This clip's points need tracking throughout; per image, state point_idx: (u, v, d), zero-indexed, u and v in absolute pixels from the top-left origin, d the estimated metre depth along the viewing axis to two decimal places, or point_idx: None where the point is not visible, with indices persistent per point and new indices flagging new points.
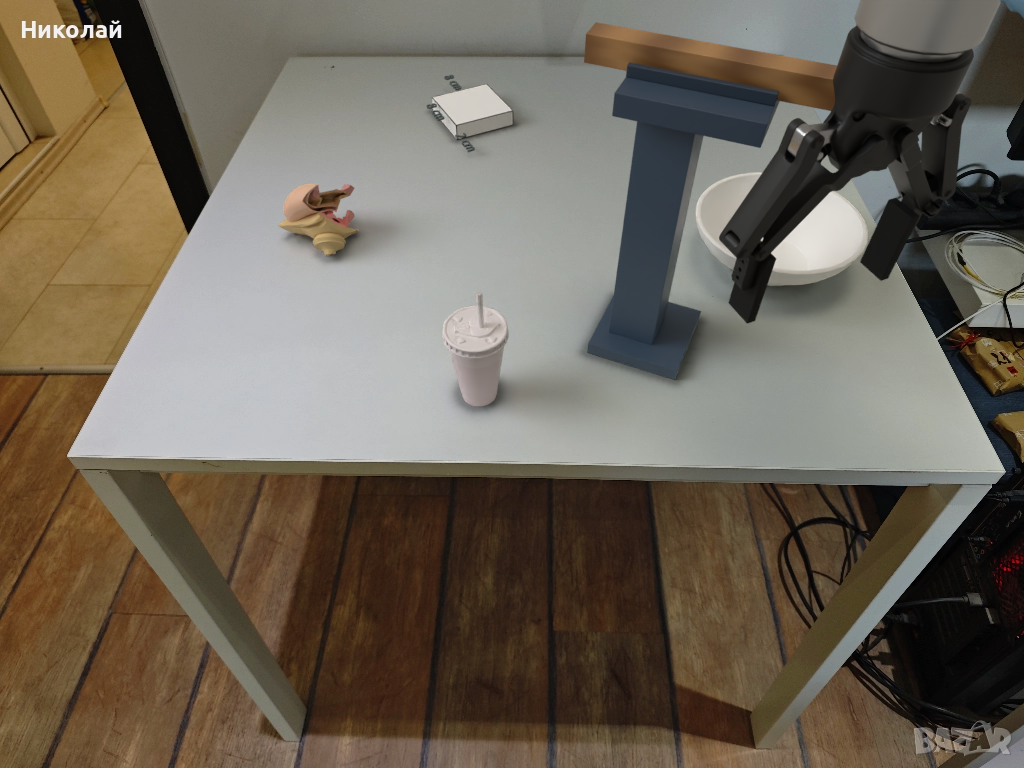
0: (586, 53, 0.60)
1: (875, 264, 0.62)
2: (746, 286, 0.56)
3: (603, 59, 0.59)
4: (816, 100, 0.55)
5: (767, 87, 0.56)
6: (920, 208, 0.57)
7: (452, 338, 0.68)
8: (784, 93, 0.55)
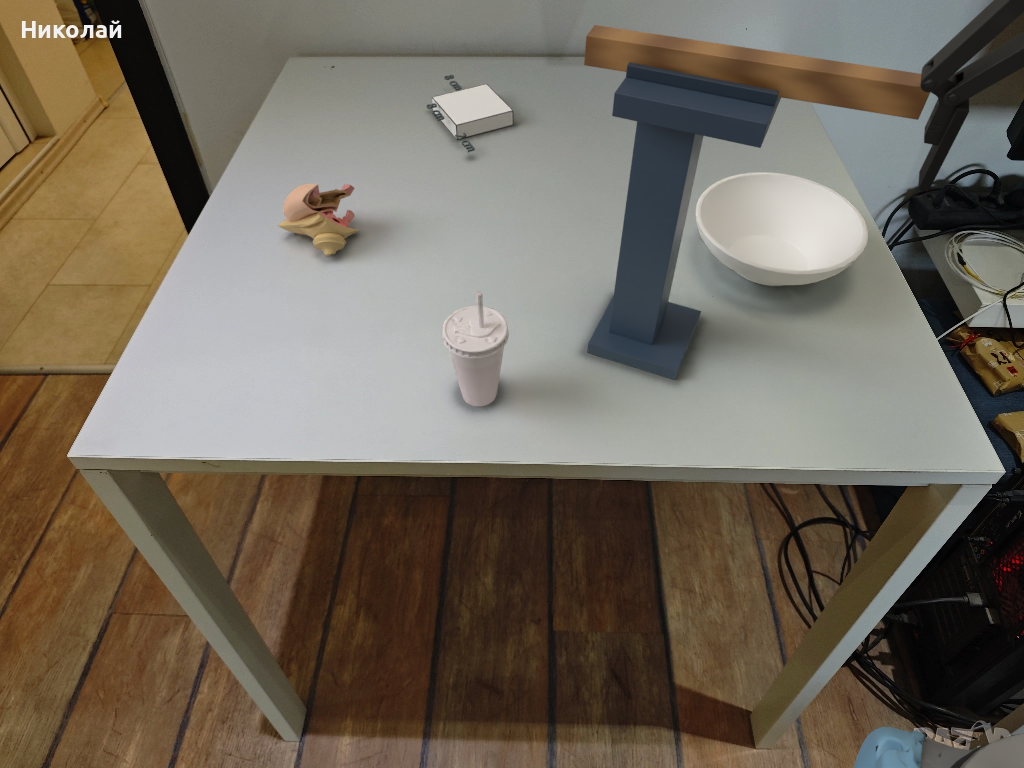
0: (586, 55, 0.59)
1: None
2: (930, 139, 0.53)
3: (604, 61, 0.59)
4: (820, 96, 0.55)
5: (771, 84, 0.56)
6: None
7: (452, 338, 0.68)
8: (788, 90, 0.55)
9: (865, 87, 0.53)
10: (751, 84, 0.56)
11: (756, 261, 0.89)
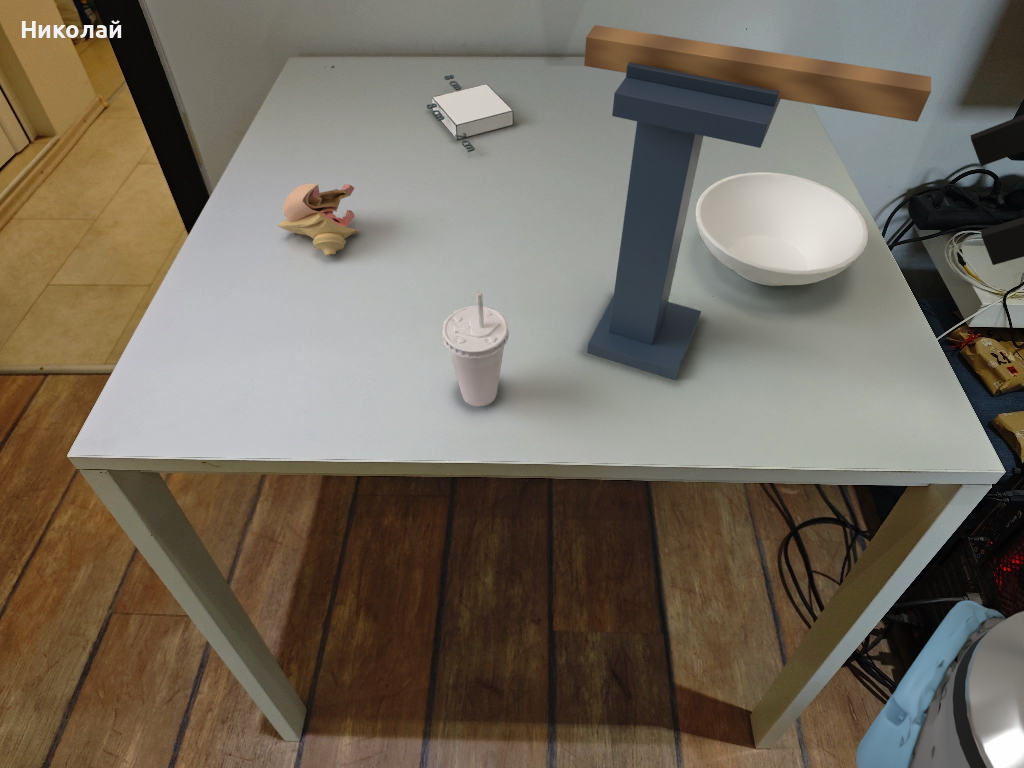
0: (586, 56, 0.59)
1: None
2: None
3: (604, 62, 0.59)
4: (820, 97, 0.55)
5: (770, 86, 0.56)
6: None
7: (452, 338, 0.68)
8: (788, 91, 0.56)
9: (864, 89, 0.53)
10: (750, 85, 0.56)
11: (756, 261, 0.89)
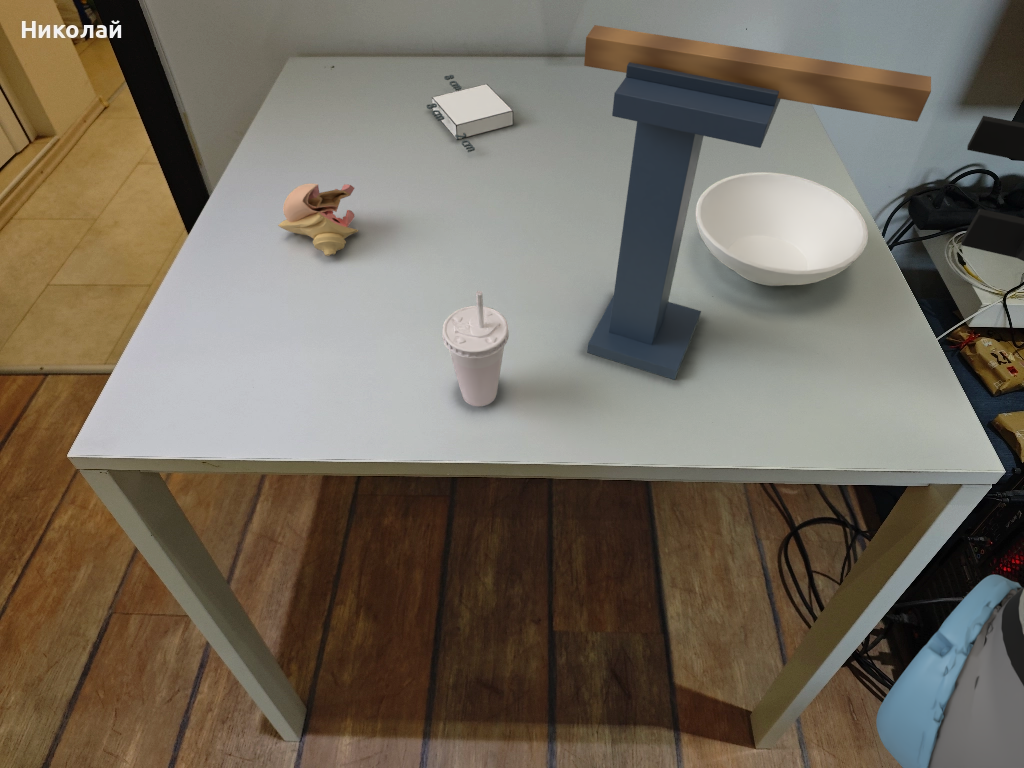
0: (586, 56, 0.59)
1: None
2: None
3: (604, 62, 0.59)
4: (820, 97, 0.55)
5: (770, 86, 0.56)
6: None
7: (452, 338, 0.68)
8: (788, 91, 0.56)
9: (864, 89, 0.53)
10: (750, 85, 0.56)
11: (756, 261, 0.89)
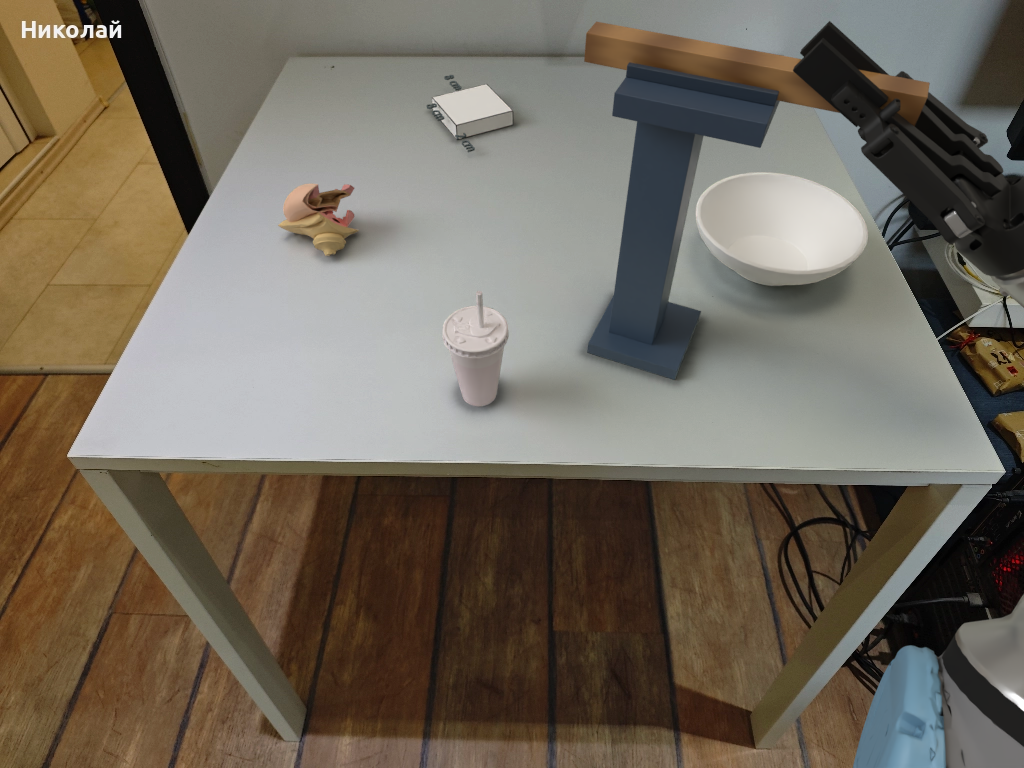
0: (586, 52, 0.60)
1: None
2: None
3: (603, 58, 0.59)
4: (816, 100, 0.55)
5: (767, 87, 0.56)
6: None
7: (452, 338, 0.68)
8: (784, 93, 0.55)
9: None
10: None
11: (756, 261, 0.89)
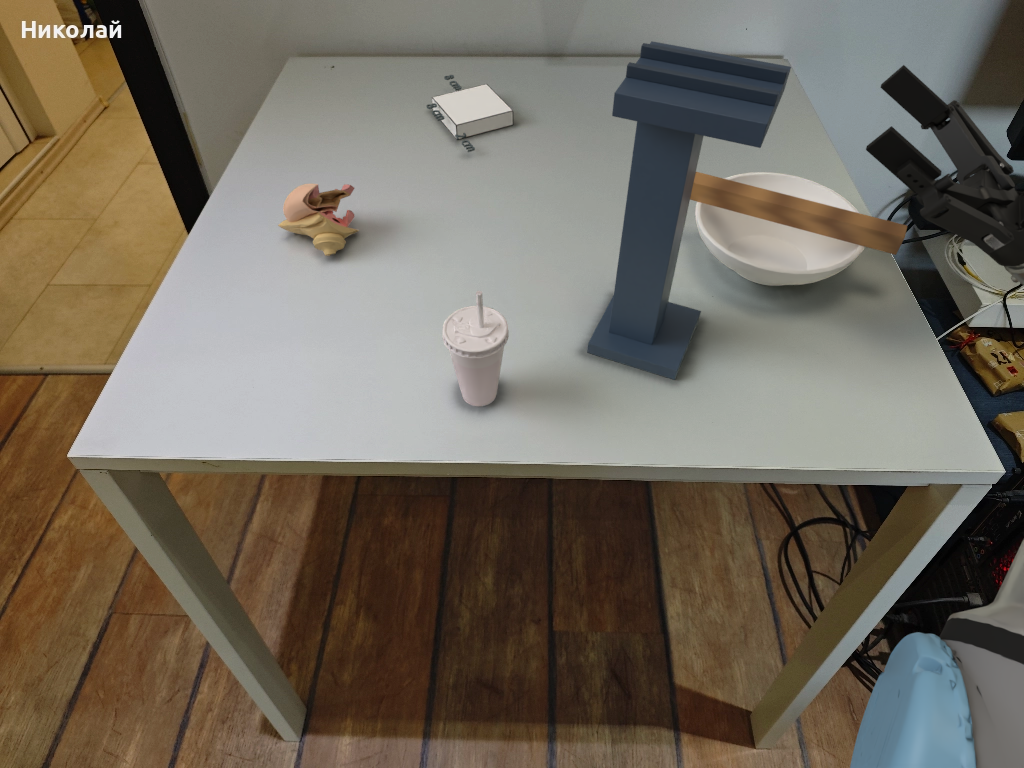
0: None
1: None
2: None
3: None
4: (831, 232, 0.81)
5: (798, 222, 0.82)
6: None
7: (452, 338, 0.68)
8: (809, 226, 0.82)
9: (860, 231, 0.80)
10: (784, 220, 0.83)
11: (756, 261, 0.89)
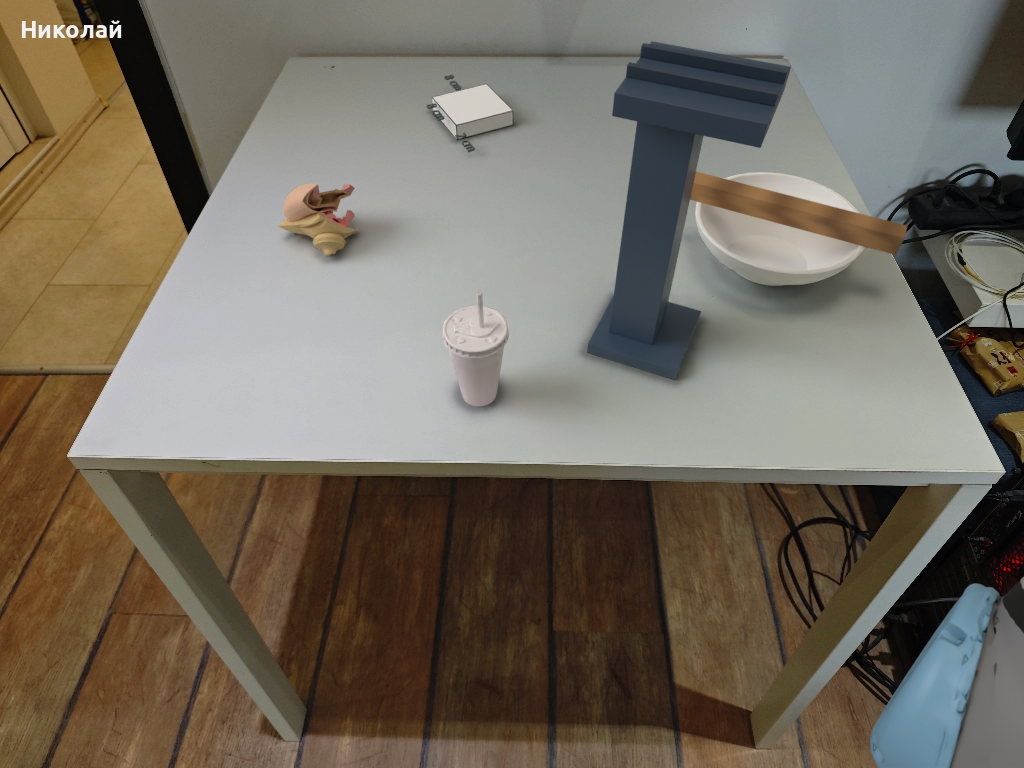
0: None
1: None
2: None
3: None
4: (831, 233, 0.81)
5: (798, 222, 0.82)
6: None
7: (452, 338, 0.68)
8: (809, 226, 0.82)
9: (860, 231, 0.80)
10: (784, 220, 0.83)
11: (756, 261, 0.89)
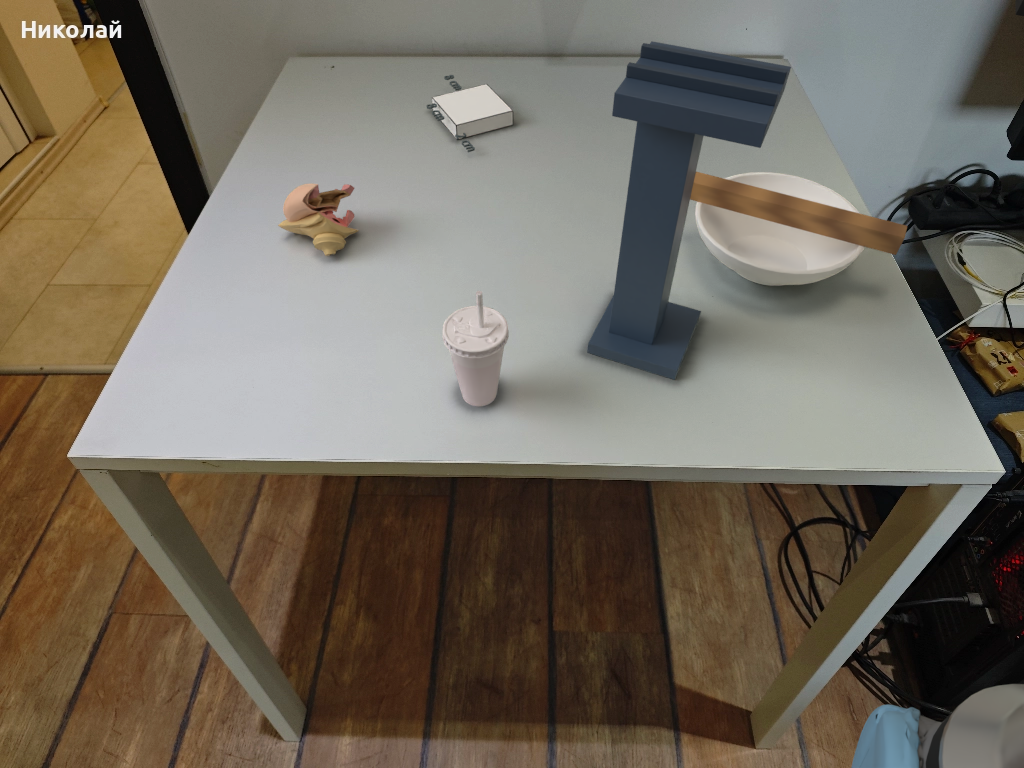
0: None
1: None
2: None
3: None
4: (831, 233, 0.81)
5: (798, 222, 0.82)
6: None
7: (452, 338, 0.68)
8: (809, 226, 0.82)
9: (860, 231, 0.80)
10: (784, 220, 0.83)
11: (756, 261, 0.89)
